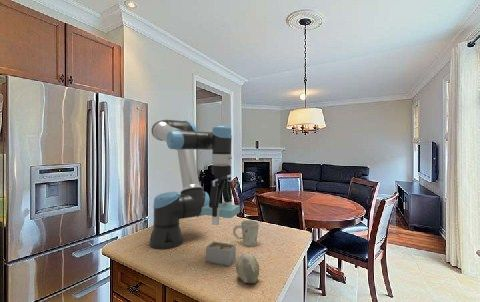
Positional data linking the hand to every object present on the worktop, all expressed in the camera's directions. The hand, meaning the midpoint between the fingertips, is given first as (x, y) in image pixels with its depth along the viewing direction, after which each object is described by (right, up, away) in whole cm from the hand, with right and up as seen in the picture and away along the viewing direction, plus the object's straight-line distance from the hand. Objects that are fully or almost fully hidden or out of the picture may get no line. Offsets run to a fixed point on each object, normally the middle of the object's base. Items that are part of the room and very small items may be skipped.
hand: (221, 220), depth 98 cm
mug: (+10, -16, +18) cm, 27 cm away
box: (0, -16, 0) cm, 16 cm away
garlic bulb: (+10, -16, -14) cm, 24 cm away
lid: (0, +3, 0) cm, 3 cm away
